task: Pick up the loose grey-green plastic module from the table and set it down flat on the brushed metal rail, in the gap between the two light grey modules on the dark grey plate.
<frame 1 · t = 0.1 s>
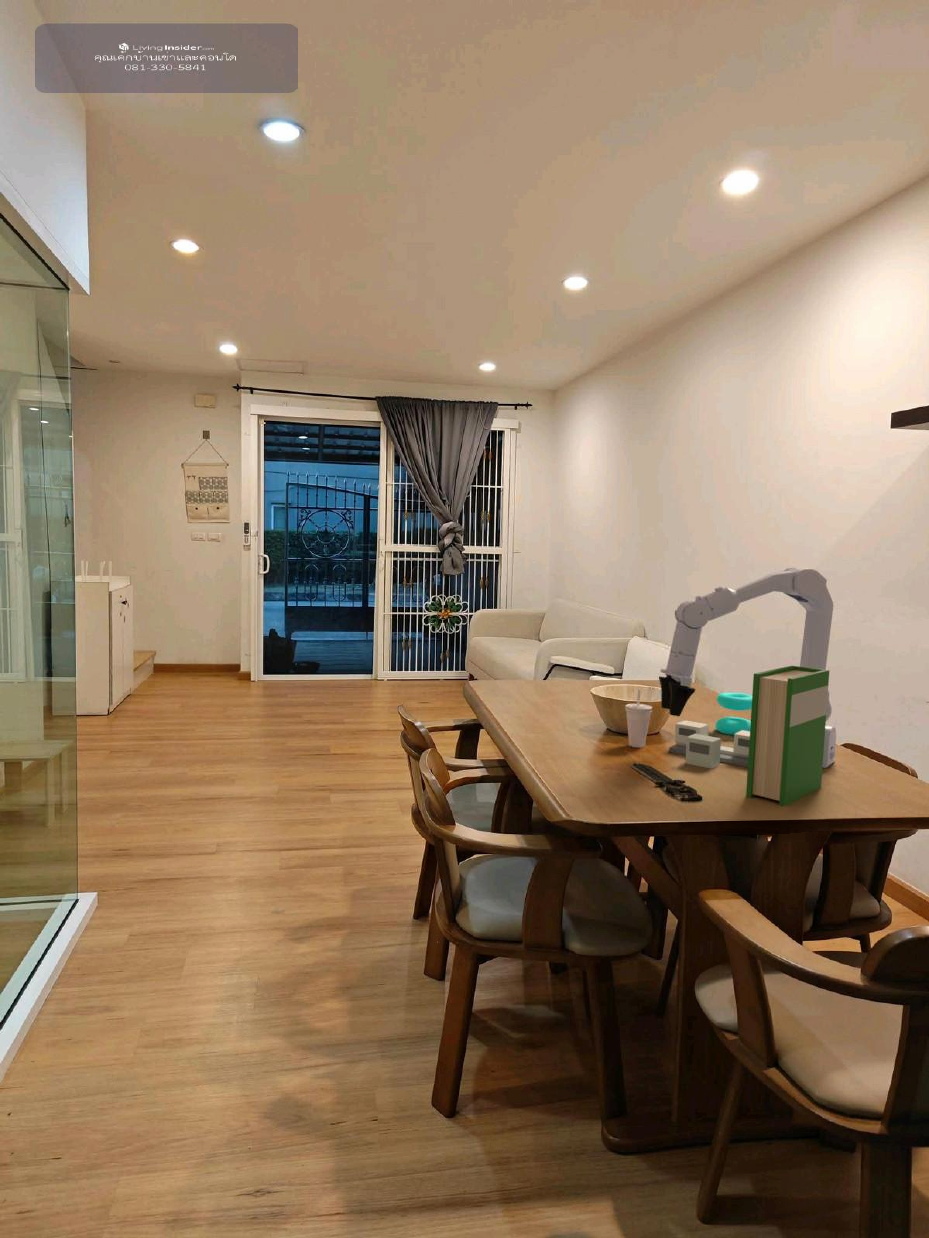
hand: (670, 711, 172), 10 cm above the table, tool pointing down, fingers open, 7 cm apart
module: (702, 764, 169), on the table
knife: (660, 784, 155), on the table
hardback book: (784, 793, 150), on the table
donuts: (734, 733, 200), on the table
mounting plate: (719, 755, 176), on the table
smoothie: (636, 746, 183), on the table
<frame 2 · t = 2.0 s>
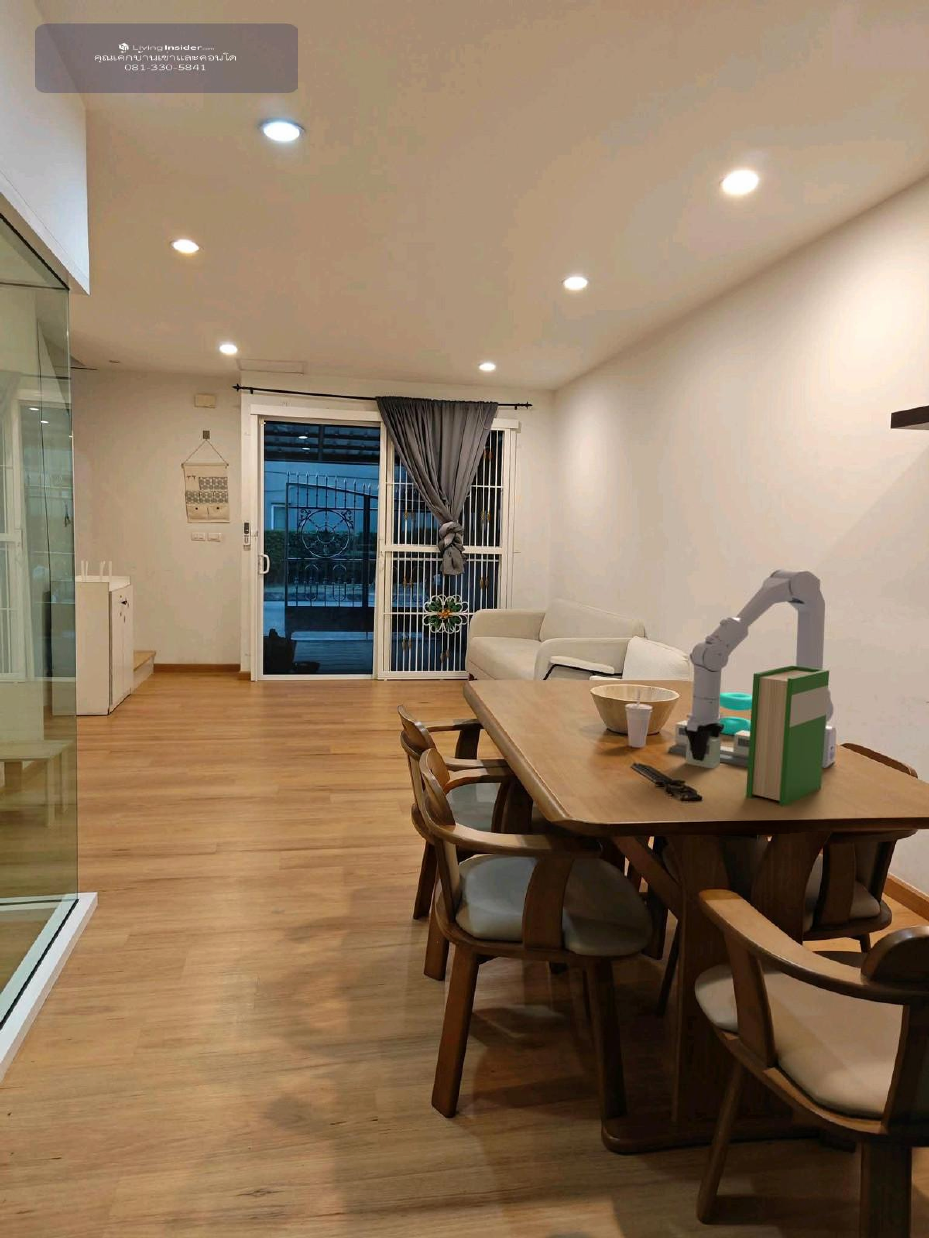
hand: (702, 757, 168), 1 cm above the table, tool pointing down, fingers closed on module, 5 cm apart
module: (702, 763, 169), on the table, touching gripper
everything else where it was.
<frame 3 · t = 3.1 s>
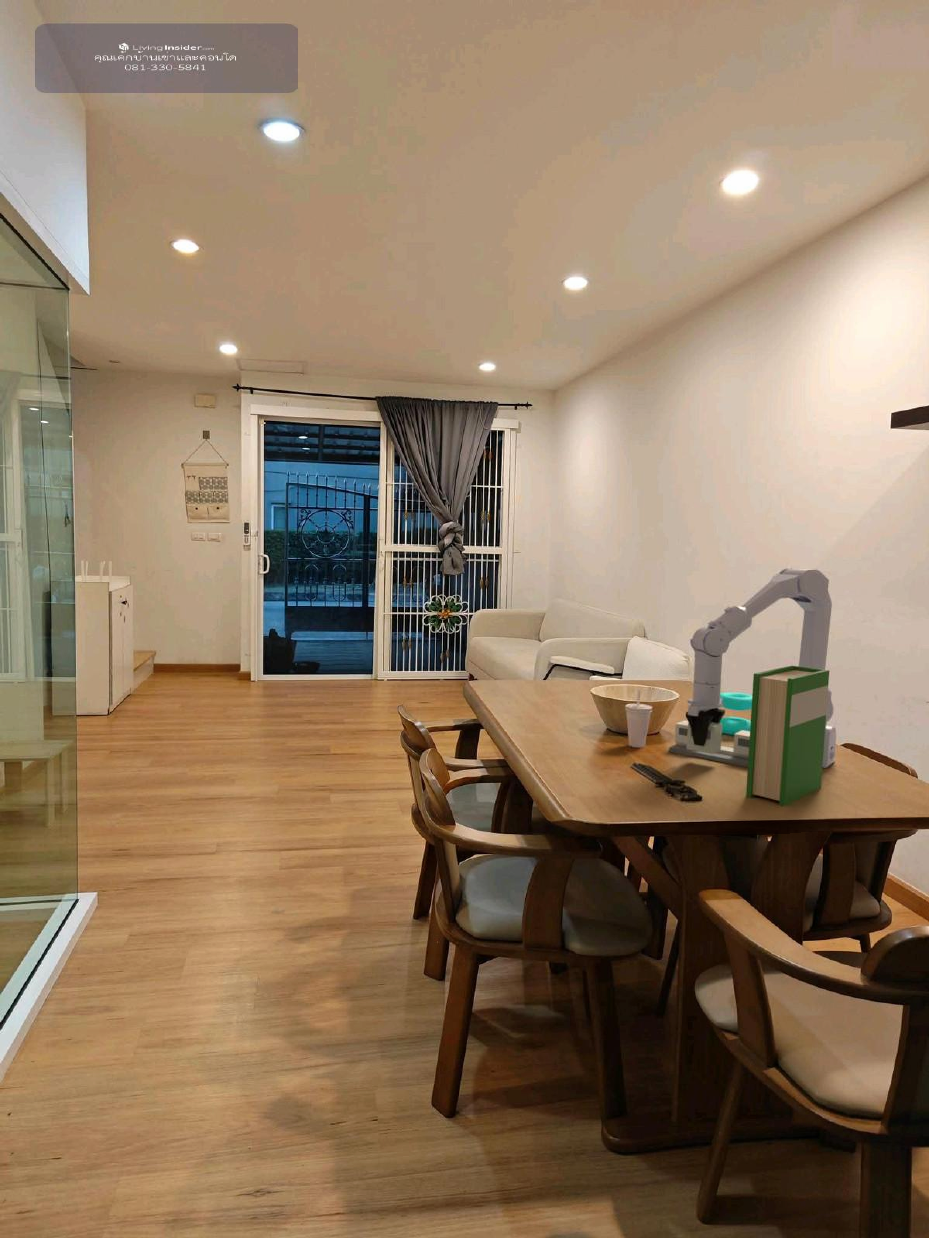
hand: (703, 742, 168), 5 cm above the table, tool pointing down, fingers closed on module, 5 cm apart
module: (703, 749, 168), point 3 cm above the table, touching gripper
everything else where it was.
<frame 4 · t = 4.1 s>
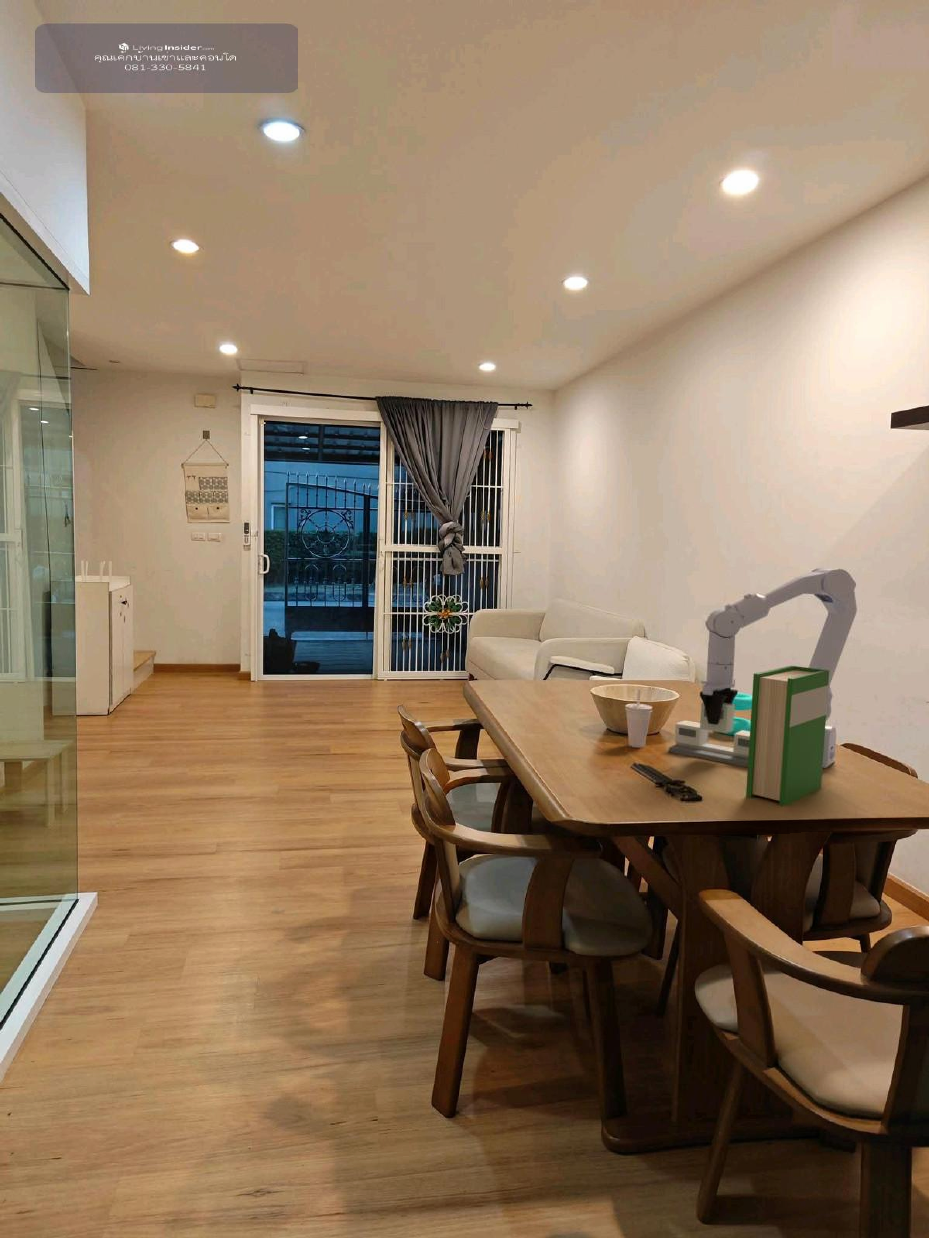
hand: (717, 721, 173), 8 cm above the table, tool pointing down, fingers closed on module, 5 cm apart
module: (716, 729, 173), point 7 cm above the table, touching gripper
everything else where it was.
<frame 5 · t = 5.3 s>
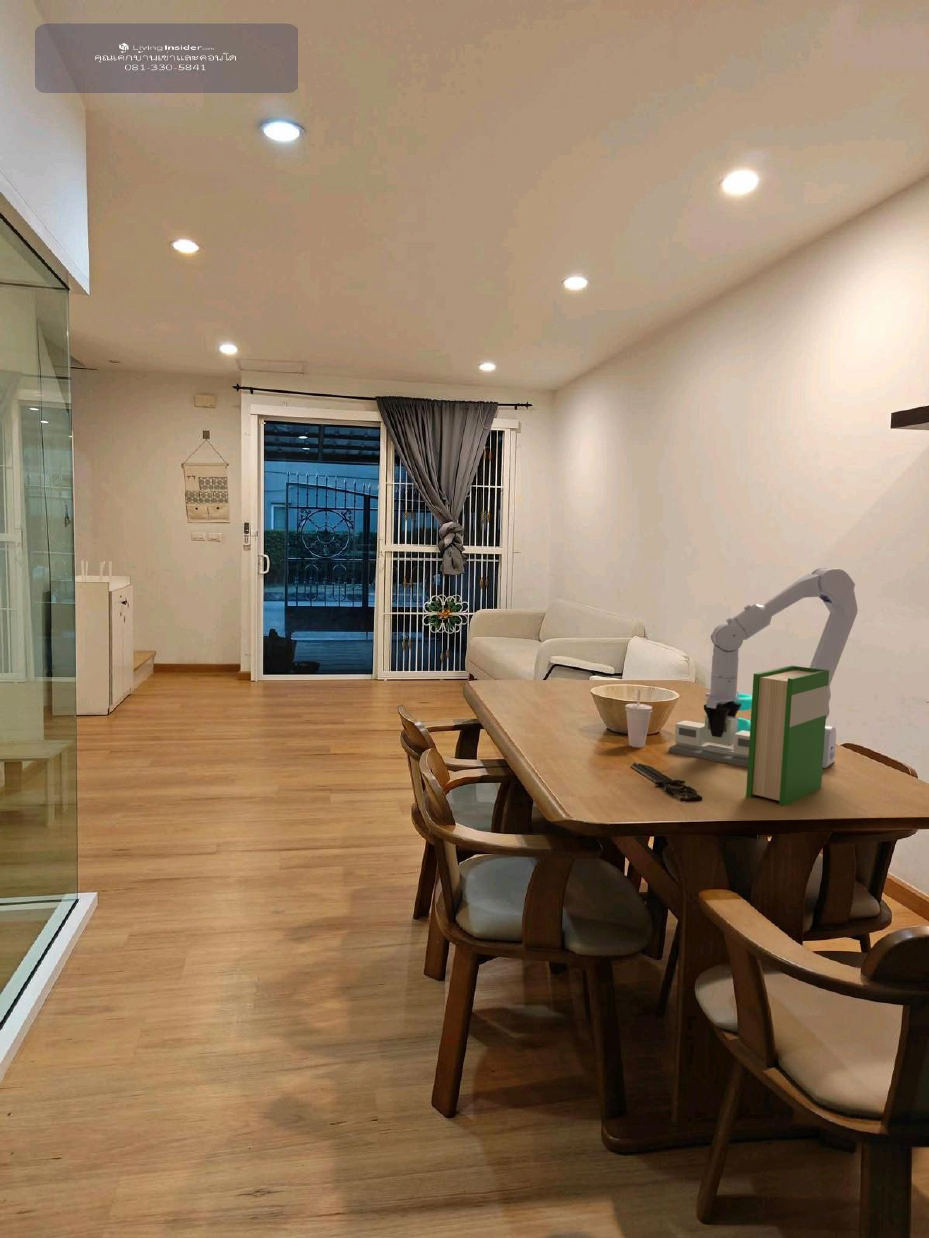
hand: (720, 734, 176), 5 cm above the table, tool pointing down, fingers closed on module, 5 cm apart
module: (719, 741, 176), point 3 cm above the table, touching gripper
everything else where it was.
when the fingers open (5 cm above the table, at t = 6.1 s): module drops 1 cm, resting on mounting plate.
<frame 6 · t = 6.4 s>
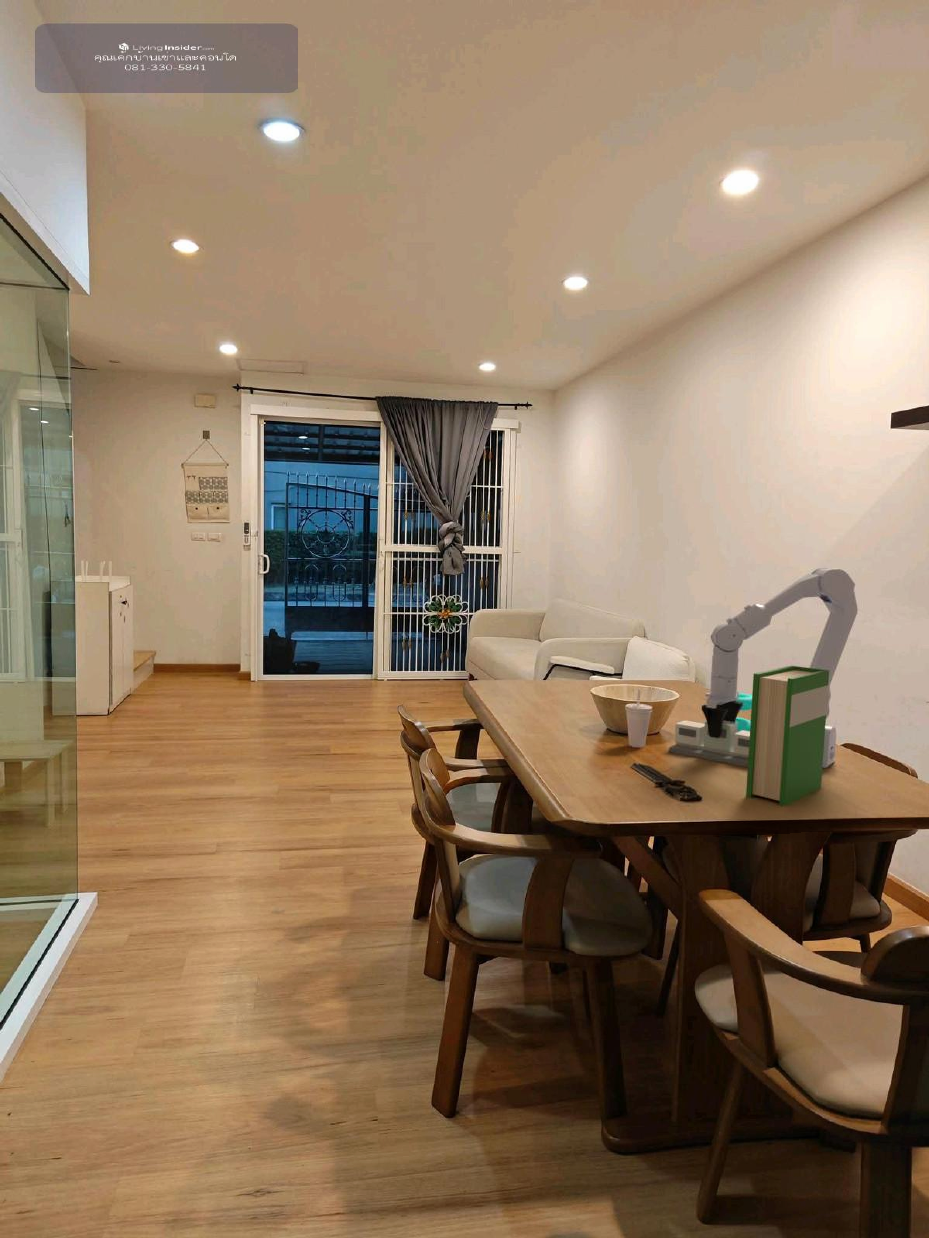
hand: (720, 734, 176), 5 cm above the table, tool pointing down, fingers open, 7 cm apart
module: (719, 747, 176), point 2 cm above the table, touching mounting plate
everything else where it was.
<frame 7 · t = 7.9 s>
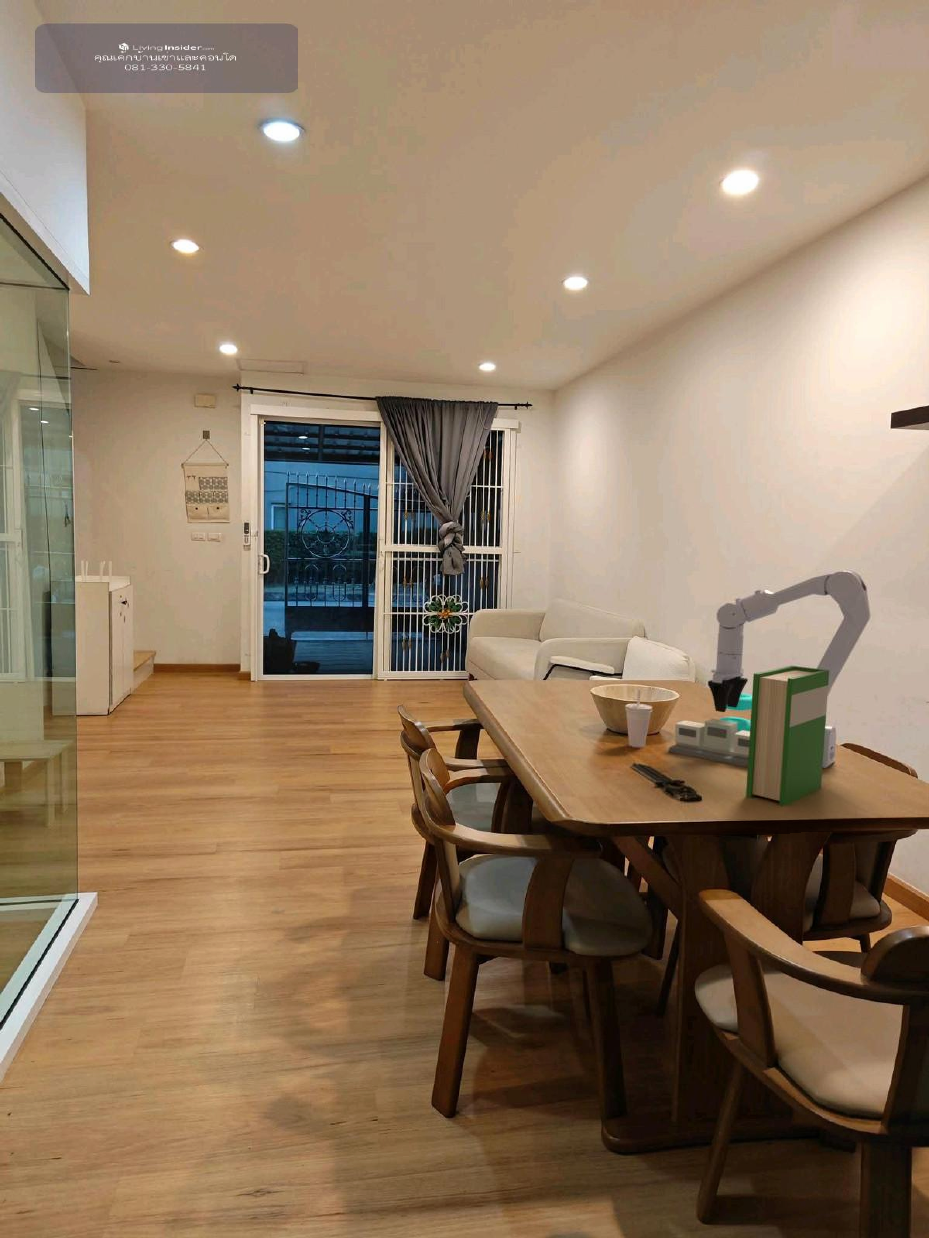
hand: (726, 709, 183), 9 cm above the table, tool pointing down, fingers open, 7 cm apart
nothing on the table moved.
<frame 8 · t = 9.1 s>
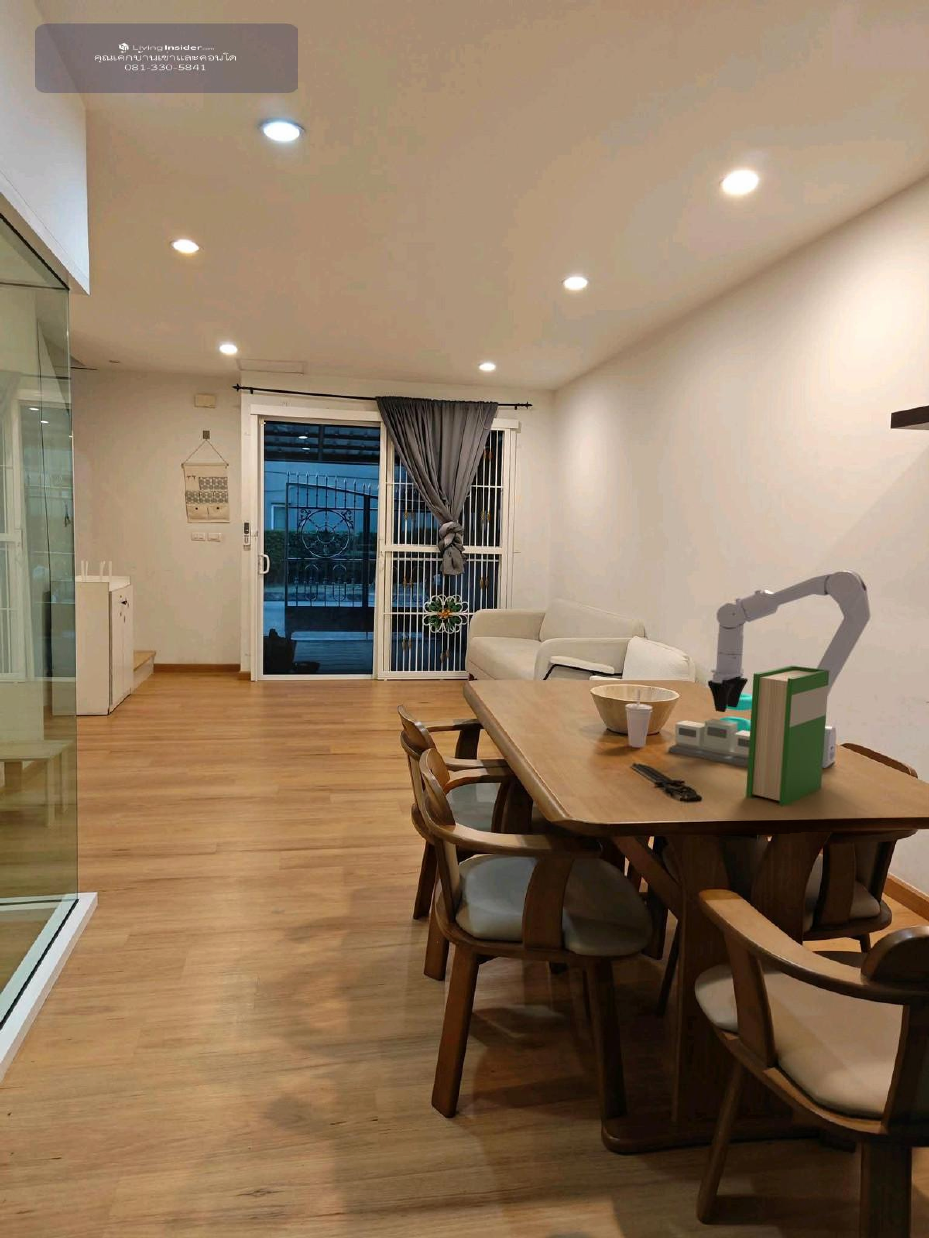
hand: (726, 709, 183), 9 cm above the table, tool pointing down, fingers open, 7 cm apart
nothing on the table moved.
at the end: module 0.1 cm off-centre on the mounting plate, point 1.8 cm above the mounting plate's base; module tilted 0°; the gripper is holding nothing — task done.
